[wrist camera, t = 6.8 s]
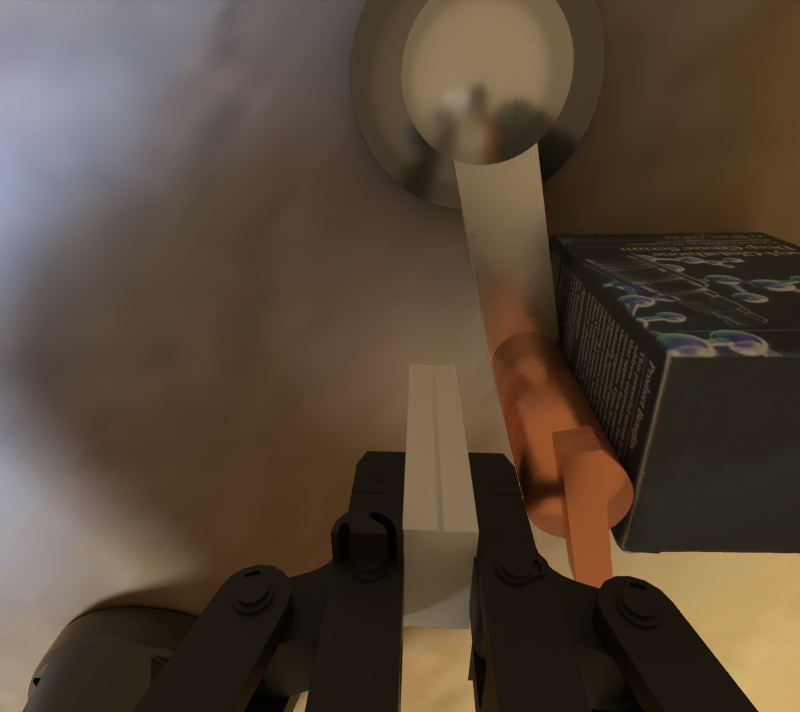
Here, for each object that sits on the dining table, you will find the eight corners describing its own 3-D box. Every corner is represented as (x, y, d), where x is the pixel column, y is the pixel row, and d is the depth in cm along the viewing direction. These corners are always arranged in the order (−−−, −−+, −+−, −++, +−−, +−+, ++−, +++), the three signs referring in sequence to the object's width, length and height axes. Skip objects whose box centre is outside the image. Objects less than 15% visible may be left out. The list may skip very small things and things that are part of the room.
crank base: (597, 179, 18) (607, 184, 17) (383, 222, 19) (380, 229, 18) (589, -103, 14) (602, -119, 13) (327, -31, 16) (320, -41, 15)
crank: (390, 18, 15) (337, -108, 6) (539, -27, 14) (719, -240, 5) (469, 389, 20) (500, 600, 12) (577, 369, 20) (696, 577, 11)
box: (760, 227, 18) (1112, 353, 9) (720, 361, 21) (961, 569, 12) (547, 230, 19) (671, 354, 9) (533, 362, 21) (619, 563, 12)
